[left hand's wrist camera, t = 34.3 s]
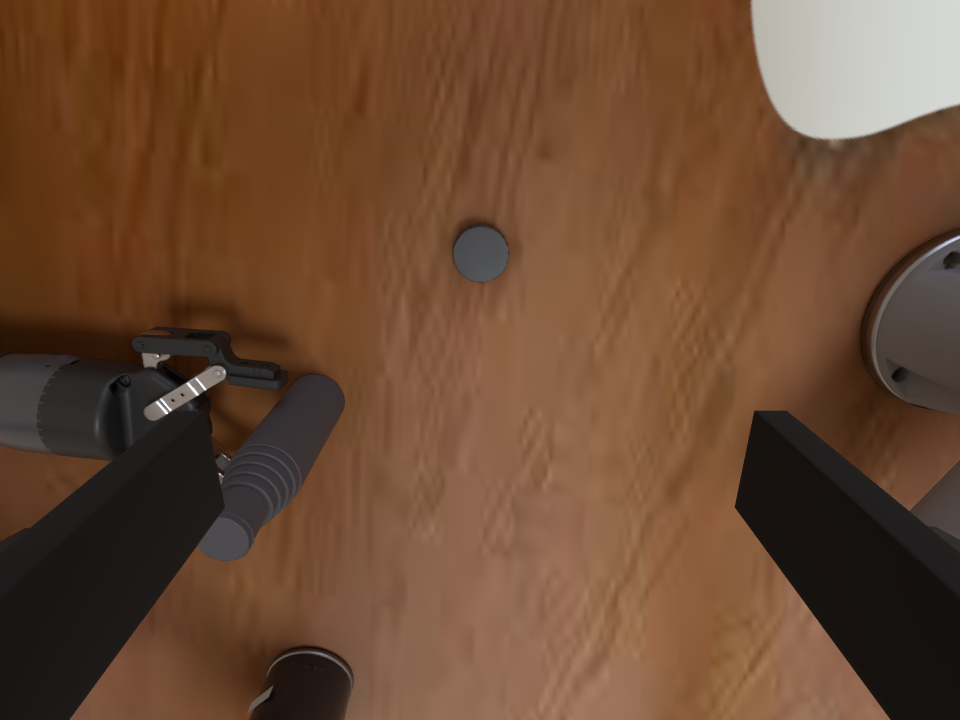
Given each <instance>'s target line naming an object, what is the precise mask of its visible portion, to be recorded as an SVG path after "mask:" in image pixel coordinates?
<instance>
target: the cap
mask: <svg viewBox="0 0 960 720" xmlns="http://www.w3.org/2000/svg"><path fill="white" fill-rule="evenodd" d="M508 256H509V252H508V244H507V243H506V241H505V237H504V236H503V235H502V234H501V232H500V231H499V229H498V230H497V229H496V228H495V227H493V226H491V225H488V224H485V223H484V224H477V223H476V224H474V225H471V226H470V225H469V227H467V228H466V229H464V230H462V232H461V233H460V235H459V236H457V240H456V243H454V250H453V259H454V263H455V266H456V268H457V270H458V271H459V272H460V273H461V274H462V275H463V276H464V277H465V278H467V279H469V280H471V281H474V282H488V281H491V280H493V279H495V278H497V277H498V276H499V275H500V274H501V273H502V272H503V271H504V269H505V267H506V265H507V262H508Z"/></svg>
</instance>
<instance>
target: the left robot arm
mask: <svg viewBox="0 0 960 720" xmlns="http://www.w3.org/2000/svg"><path fill="white" fill-rule="evenodd" d="M861 349H862V354H863V358H864V362H865V364H866V367H867V369H868V371H869V372H870V374H871V376H872V377H873V378H874V380H875V381H876V382H877V383H878V384H879V385H880V386H881V387H883V388H884V389H885V390H887V391H888V392H890V393H892V394H893V395H895V396H897V397H899V398H901V399H902V400H904V401H906V402H908V403H910V404H912V405H915V406H918V407H921V408H926V409H930V410H936V411H942V412H948V413H953V414H959V415H960V229H957V230H954V231H951V232H948V233H945V234H943V235H940V236H938V237H936V238H934V239H932V240H930V241H928V242H927V243H925V244H923V245H921V246H920V247H918V248H917V249H916V250H914V251H913V252H911V253H910V254H909V255H908V256H906V257H905V258H904V259H903V260H902V261H901V262H900V263H898V264H897V265H896V266H895V267H894V268H893V270H892V271H891V272H890V273H889V274H888V275H887V276H886V278H885V279H884V280H883V281H882V283H881V284H880V286H879V287H878V289H877V290H876V292H875V294H874V296H873V297H872V299H871V302H870V304H869V306H868V308H867V311H866V314H865V317H864V321H863V326H862V332H861ZM923 410H924V409H923ZM930 410H929V411H930ZM936 411H935V412H936ZM942 412H941V413H942ZM948 413H947V414H948ZM224 508H225V504H224V499H223V494H222V489H221V484H220V479H219V474H218V469H217V464H216V460H215V455H214V450H213V445H212V440H211V435H210V430H209V425H208V420H207V415H206V411H173V412H171V413H170V414H169V415H168V416H167V417H165V418H164V419H163V420H162V421H160V422H159V423H158V424H157V425H156V426H154V427H153V428H152V429H151V430H149V431H148V432H147V433H146V434H145V435H143V436H142V437H141V438H140V439H138V440H137V441H136V442H135V443H134V444H132V445H131V446H130V447H129V448H127V449H126V450H125V451H124V452H123V453H121V454H120V455H119V456H118V457H116V458H115V459H114V460H113V461H112V462H110V463H109V464H108V465H107V466H105V467H104V468H103V469H102V470H101V471H99V472H98V473H97V474H96V475H94V476H93V477H92V478H91V479H90V480H88V481H87V482H86V483H85V484H83V485H82V486H81V487H80V488H79V489H77V490H76V491H75V492H74V493H72V494H71V495H70V496H69V497H68V498H66V499H65V500H64V501H63V502H61V503H60V504H59V505H58V506H57V507H55V508H54V509H53V510H52V511H50V512H49V513H48V514H47V515H46V516H44V517H43V518H42V519H41V520H39V521H38V522H37V523H36V524H35V525H33V526H32V527H31V528H25V529H23V530H21V531H19V532H18V533H16V534H14V535H12V536H10V537H8V538H7V539H5V540H3V541H1V542H0V720H69V719H70V718H71V717H72V715H73V714H74V713H75V711H76V710H77V709H78V707H79V706H80V705H81V703H82V702H83V700H84V699H85V698H86V696H87V695H88V694H89V692H90V691H91V690H92V688H93V687H94V685H95V684H96V683H97V681H98V680H99V679H100V677H101V676H102V675H103V673H104V672H105V670H106V669H107V668H108V666H109V665H110V664H111V662H112V661H113V660H114V658H115V657H116V655H117V654H118V653H119V651H120V650H121V649H122V647H123V646H124V645H125V643H126V642H127V640H128V639H129V638H130V636H131V635H132V634H133V632H134V631H135V630H136V628H137V627H138V625H139V624H140V623H141V621H142V620H143V619H144V617H145V616H146V615H147V613H148V612H149V610H150V609H151V608H152V606H153V605H154V604H155V602H156V601H157V600H158V598H159V597H160V595H161V594H162V593H163V591H164V590H165V589H166V587H167V586H168V585H169V583H170V582H171V580H172V579H173V578H174V576H175V575H176V574H177V572H178V571H179V570H180V568H181V567H182V566H183V564H184V563H185V561H186V560H187V559H188V557H189V556H190V555H191V553H192V552H193V551H194V549H195V548H196V546H197V545H198V544H199V542H200V541H201V540H202V538H203V537H204V536H205V534H206V533H207V531H208V530H209V529H210V527H211V526H212V525H213V523H214V522H215V521H216V519H217V518H218V516H219V515H220V514H221V512H222V511H223V510H224ZM735 508H736V510H737V511H738V512H739V514H740V515H741V516H742V518H743V519H744V521H745V522H746V523H747V525H748V526H749V527H750V529H751V530H752V531H753V533H754V534H755V536H756V537H757V538H758V540H759V541H760V542H761V544H762V545H763V546H764V548H765V549H766V551H767V552H768V553H769V555H770V556H771V557H772V559H773V560H774V561H775V563H776V564H777V566H778V567H779V568H780V570H781V571H782V572H783V574H784V575H785V576H786V578H787V579H788V580H789V582H790V583H791V585H792V586H793V587H794V589H795V590H796V591H797V593H798V594H799V595H800V597H801V598H802V600H803V601H804V602H805V604H806V605H807V606H808V608H809V609H810V610H811V612H812V613H813V615H814V616H815V617H816V619H817V620H818V621H819V623H820V624H821V625H822V627H823V628H824V630H825V631H826V632H827V634H828V635H829V636H830V638H831V639H832V640H833V642H834V643H835V645H836V646H837V647H838V649H839V650H840V651H841V653H842V654H843V655H844V657H845V658H846V660H847V661H848V662H849V664H850V665H851V666H852V668H853V669H854V670H855V672H856V673H857V675H858V676H859V677H860V679H861V680H862V681H863V683H864V684H865V685H866V687H867V688H868V690H869V691H870V692H871V694H872V695H873V696H874V698H875V699H876V700H877V702H878V703H879V705H880V706H881V707H882V709H883V710H884V711H885V713H886V714H887V715H888V717H889V718H890V719H891V720H960V461H959V462H958V463H957V464H956V465H955V466H954V467H953V468H952V469H951V470H950V471H949V472H948V473H947V474H946V475H945V476H944V477H943V478H942V479H941V480H940V481H939V482H938V483H937V484H936V485H935V486H934V487H933V488H932V489H931V490H930V491H929V492H928V493H927V494H926V495H925V496H924V497H923V498H922V499H921V500H920V501H919V502H918V503H917V504H916V505H915V506H914V507H913V508H912V509H911V510H910V511H908V510H907V509H906V508H905V507H903V506H902V505H901V504H900V503H899V502H897V501H896V500H895V499H894V498H892V497H891V496H890V495H889V494H888V493H886V492H885V491H884V490H883V489H881V488H880V487H879V486H878V485H877V484H875V483H874V482H873V481H872V480H870V479H869V478H868V477H867V476H866V475H864V474H863V473H862V472H861V471H859V470H858V469H857V468H856V467H855V466H853V465H852V464H851V463H850V462H848V461H847V460H846V459H845V458H844V457H842V456H841V455H840V454H839V453H837V452H836V451H835V450H834V449H833V448H831V447H830V446H829V445H828V444H826V443H825V442H824V441H823V440H822V439H820V438H819V437H818V436H817V435H815V434H814V433H813V432H812V431H811V430H809V429H808V428H807V427H806V426H804V425H803V424H802V423H801V422H800V421H798V420H797V419H796V418H795V417H793V416H792V415H791V414H790V413H789V412H787V411H754V415H753V420H752V425H751V430H750V435H749V440H748V445H747V450H746V455H745V460H744V464H743V469H742V474H741V479H740V484H739V489H738V494H737V499H736V504H735Z"/></svg>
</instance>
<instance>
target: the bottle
mask: <svg viewBox="0 0 960 720" xmlns="http://www.w3.org/2000/svg"><path fill="white" fill-rule="evenodd" d="M344 402H345V401H344V395H343V393H342V391H341V389H340V387H339V386H338V385H337V384H336V383H335V382H334V381H333V380H331V379H330V378H327V377H325V376H322V375H316V374H311V375H306V376H303V377H301V378H299V379H298V380H296V381H295V382H294V384H293V385H292V386H291V387H290V388H289V389H288V391H287V392H286V393H285V394H284V395H283V397H282V398H281V399H280V400H279V401H278V403H277V404H276V405H275V406H274V407H273V409H272V410H271V411H270V412H269V413H268V415H267V416H266V417H265V418H264V419H263V421H262V422H261V423H260V424H259V425H258V427H257V428H256V429H255V430H254V431H253V433H252V434H251V435H250V436H249V437H248V439H247V440H246V441H245V442H244V443H243V445H242V446H241V447H240V448H239V449H238V451H237V452H236V453H235V454H234V455H233V457H232V458H231V460H230V463H229V464H228V465H227V467H226V470H225V473H224V476H223V478H222V483H221V489H222V494H223V499H224V504H225V508H224V510H223V511H222V512H221V514H220V515H219V516H218V518H217V519H216V521H215V522H214V523H213V525H212V526H211V527H210V529H209V530H208V531H207V533H206V534H205V536H204V537H203V538H202V540H201V541H200V542H199V544H198V547H199V548H200V550H201V551H202V552H204V553H205V554H206V555H208V556H209V557H211V558H214V559H217V560H222V561H231V560H237V559H239V558H241V557H243V556H244V555H246V554H247V553H248V551H249V549H250V548H251V546H252V544H253V543H254V538H255V536H256V535H257V533H258V531H259V530H260V528H261V527H262V526H264V525H265V524H267V523H268V522H269V521H270V519H272V518H273V517H275V516H276V515H277V513H279V512H280V511H281V510H282V509H283V508H284V507H286V506H287V505H288V504H289V503H290V502H291V501H292V499H293V498H294V497H295V496H296V495H297V493H298V492H299V490H300V488H301V486H302V484H303V483H304V481H305V479H306V477H307V475H308V473H309V472H310V470H311V468H312V466H313V464H314V463H315V461H316V459H317V457H318V455H319V453H320V452H321V450H322V448H323V446H324V444H325V442H326V441H327V439H328V437H329V435H330V433H331V431H332V430H333V428H334V426H335V424H336V422H337V421H338V419H339V417H340V415H341V413H342V411H343V409H344Z"/></svg>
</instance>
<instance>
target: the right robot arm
mask: <svg viewBox="0 0 960 720" xmlns="http://www.w3.org/2000/svg"><path fill="white" fill-rule="evenodd" d="M230 343H231V337H230V335H229V334H228V333H227V332H224V331H213V330H197V329H182V328H167V327H155V328H153V329H151V330H148V331H146V332H144V333H142V334H141V335H139V336H137V337H135V338H134V339H133V340H132V342H131V344H132V347H133V349H134V350H135V351H137V352H139V353H142V359H143V365H144V366H141V365H138V364H132V363H124V362H115V361H106V360H98V359H90V358H81V357H75V356H73V355H65V354H61V355H56V354H19V353H10V352H1V351H0V446H5V447H8V448H12V449H16V450H21V451H27V452H34V453H44V454H53V455H61V456H71V457H80V458H89V459H98V460H107V461H113V460H114V459H115V458H116V457H118V456H119V455H120V454H121V453H123V452H124V451H125V450H126V449H127V448H129V447H130V446H131V445H132V444H134V443H135V442H136V441H137V440H138V439H140V438H141V437H142V436H143V435H145V434H146V433H147V432H148V431H149V430H151V429H152V428H153V427H154V426H156V425H157V424H158V423H159V422H160V421H162V420H163V419H164V418H165V417H167V416H168V415H169V414H170V413H171V412H173V411H206V415H207V420H208V425H209V430H210V434H211V433H212V422H211V420H210V417H209V412H210V408H211V398H210V397H207V396H206V394H205V392H204V391H205V390H207V389H209V388H210V387H212V386H214V385H216V384H217V383H219V382H221V381H222V380H224V379H226V380H229V385H237V386H246V387H254V388H263V389H271V390H278V389H281V388H283V386H284V385H285V384H286V383H287V382H288V371H286V370H280V365H278V364H276V363H273V362H265V361H256V360H248V359H241V358H238V357H237V356H235V355H234V353H233V352H232V349H231V347H230ZM173 355H182V356H197V357H207V359H208V361H209V363H210V365H209V366H207V367H206V368H204V369H202V370H201V371H199V372H197V373H196V374H194V375H192V376H191V377H189V378H186V377H184V376H183V375H182V374H180V373H179V372H177V371H176V370H175V369H173V368H172V367H171V366H169V365H168V364H165V363H163V361H164V360H167V359H169V358H170V357H172V356H173ZM211 440H212V445H213V450H214V455H215V460H216V464H217V466H218V467H217V469H218V474H219V479H220V484H221V483H222V478H223V476H224V473H225V470H226V467H227V465H228V464H229V463H230V460H231V458H232V456H231V455H229V454H228V453H227V452H225V451H224V447H223V445H222V444H221V443H220V442H219V441H217V440H216V439H215V438H213V437H212V436H211ZM219 467H220V468H221V469H223V470H224V471H223V470H221V469H220V468H219ZM352 688H353V675H352V673H351V670H350V669H349V667H348V666H347V665H346V664H345V662H343V661H342V660H341V659H340V658H338V657H337V656H335V655H333V654H331V653H329V652H327V651H324V650H320V649H315V648H298V649H293V650H290V651H287V652H285V653H283V654H281V655H279V656H278V657H277V658H276V659H275V660H274V661H273V662H272V664H271V666H270V668H269V671H268V673H267V678H266V680H265V683H264V685H263V688H262V690H261V692H260V695H259V697H258V698H257V699H255V700H254V701H253V702H252V703H251V705H250V707H249V710H248V712H247V713H249V712H250V711H251V710H253V711H252V714H251V716H250V719H249V720H344V717H345V713H346V709H347V705H348V701H349V697H350V695H351V692H352Z"/></svg>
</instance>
